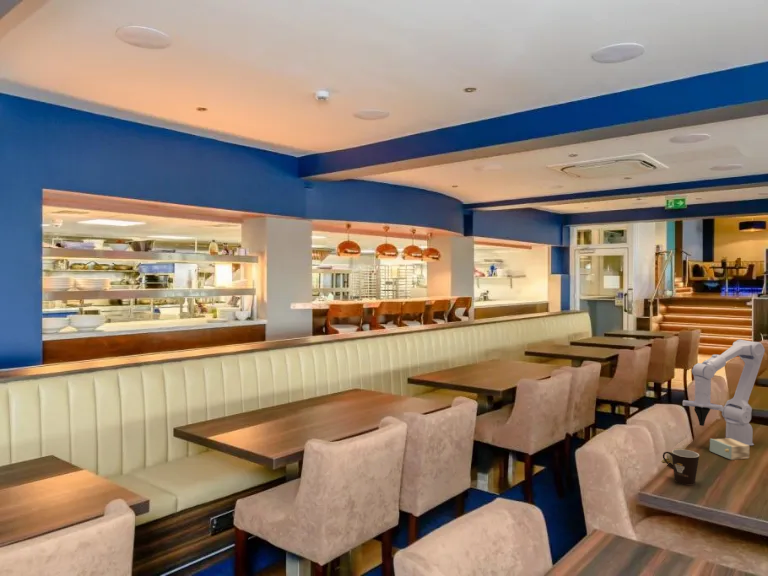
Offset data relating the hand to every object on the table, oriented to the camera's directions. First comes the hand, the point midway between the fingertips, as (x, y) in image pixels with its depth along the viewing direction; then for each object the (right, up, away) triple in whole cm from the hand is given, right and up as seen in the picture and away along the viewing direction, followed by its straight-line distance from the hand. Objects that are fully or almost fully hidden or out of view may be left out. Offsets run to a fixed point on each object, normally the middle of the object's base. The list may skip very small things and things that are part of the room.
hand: (701, 425), depth 238 cm
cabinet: (+7, -10, -8) cm, 15 cm away
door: (+2, -10, -9) cm, 13 cm away
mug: (-21, -11, -19) cm, 30 cm away
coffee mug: (-26, -11, -34) cm, 44 cm away
